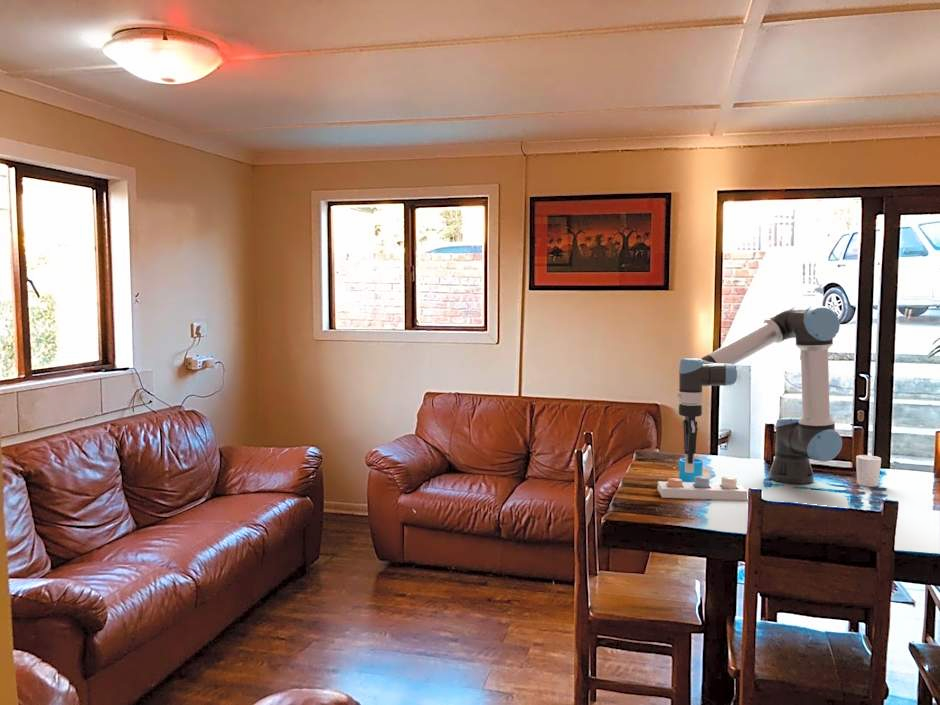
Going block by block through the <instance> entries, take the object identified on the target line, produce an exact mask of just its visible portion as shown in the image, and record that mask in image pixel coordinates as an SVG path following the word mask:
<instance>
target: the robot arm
mask: <svg viewBox="0 0 940 705" xmlns="http://www.w3.org/2000/svg"><path fill="white" fill-rule="evenodd" d="M840 326H841V325H840V319H839V317H838V314H837V313H836V312H835V311H834V310H833V309H831V308H830V307H828V306H821V305H801V304H799V305H792V306H790V307H787V308H785V309H783V310H780V311H778V312H777V313H775V314H774V315H772V316H769V317H768V318H766V319H764V321H763V324H761V325H760V326H757V327H755V328H754V329H751V330H750V331H748V332H747V333H745V334H743V335H741V336H740V337H738V338H736V339H734V340H732V341H730V342H729V343H726V344H725V345H723V346H721V347H719V348H717V349H716V350H714V351H712V352H710V353H708V354H706V355H704V356H702V357H701V358H700V357H699V358H696V357H695V358H694V357H693V358H691V357H685V358H682V359H680V361H679V369H678V375H679V379H678V381H679V382H678V384H679V385H678V391H679V393H678V394H677V397H678V401H679V404H678V415H679V416H681V417H684V419H683V421H682V425H683V426H682V427H683V450H684V451H683V454H684V458H685V472H686V473H694V458H695V454H696V452H697V449H696V448H697V438H698V437H697V436H698V430H699V429H698V422H697V420H696V417H701V416H702V414H703V405H702V403H703V387H709V386H710V387H712V386H713V387H714V386H715V387H717V386H718V387H719V386H724V387H726V386H732V385H734V384H735V383H736V381H737V379H738V369H737V368H736V366H735V364H737V363H739V362H741V361H742V360H744V359H746V358H748V357H750V356H751V355H754V354H755V353H757V352H759V351H760V350H762V349H764V348H766V347H768V346H769V345H772V344H774V343H776V344H777V343H781V342H783V341H785V340H789V339H795V346H796V347H798V348H799V350H800V363H801V364H800V365H801V369H800V370H801V398H802V399H801V400H802V402H801V404H802V406H801V407H802V417H780V418H778V419H777V420H776V424H775V447H774V448H775V450H774V451H775V452H774V454H775V455H774V459H773V461H772V464H771V466H770V469H769V475H768V477H769V479H771V480H773V481H777V482H780V483H786V484H795V485H796V484H797V485H801V484H802V485H803V484H804V485H806V484H811V483H814V482H815V481H814V480H815V477H814V471H813V467H812V465H811V461H810V459H811V460H813V461H818V462H822V463H824V462H825V463H826V462H829V461H832V460H833V459H835V458H836V457H837V456H838V455H839V454H840V452H841V450H842V447H843V438H842V436H841V434H839V432H838V431H836V429H835V428H836V427H835V420H834V419H832V418H831V416H830V414H831V413H830V412H831V411H830V382H829V380H830V376H829V375H830V373H829V372H830V371H829V349H830V348H831V346H832V345H833V344H834V338H836V336H837V334H838V333H839V331H840Z"/></svg>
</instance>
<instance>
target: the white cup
mask: <svg viewBox="0 0 940 705" xmlns="http://www.w3.org/2000/svg"><path fill="white" fill-rule="evenodd" d="M855 461H856V464H855V465H856V484H857V485H859V486H862V487H871V488H873V487H874V488H876V487H878V486H879V481H880V480H879V479H880V474H881V473H880V472H881V467H882V466H881V464H882V457H880V456H876V455H870V454H869V455H868V454H859V455H856V459H855Z"/></svg>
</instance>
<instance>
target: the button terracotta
mask: <svg viewBox="0 0 940 705" xmlns="http://www.w3.org/2000/svg"><path fill="white" fill-rule="evenodd" d="M667 482H668V487H676V488H682V479H679V477H669V478H667Z"/></svg>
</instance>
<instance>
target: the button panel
mask: <svg viewBox="0 0 940 705" xmlns="http://www.w3.org/2000/svg"><path fill="white" fill-rule="evenodd" d="M694 483H695V482H682V488H676V487H668V481H664V480H663V481H662V480H661V481H657V492H658V493H659V495H660V496H661V498H662V499H663V498H664V499H665V498H666V499H694V500H696V499H697V500H700V499H701V500H731V501H739V500H740V501H748V500H747V491H748V490H747V489H746V487H744V486H743V485H742V484H741V483H736V489H722V488H721V484H722V482H709V488H695V487H694Z"/></svg>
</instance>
